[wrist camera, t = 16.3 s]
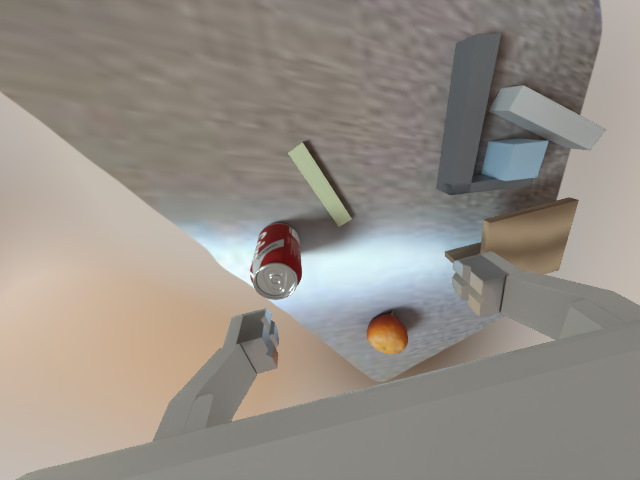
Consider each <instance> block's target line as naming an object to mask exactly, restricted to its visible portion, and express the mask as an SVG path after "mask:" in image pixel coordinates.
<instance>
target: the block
mask: <svg viewBox="0 0 640 480" xmlns="http://www.w3.org/2000/svg"><path fill="white" fill-rule="evenodd" d="M548 142H549V141H545V140H533V139H522V138H517V139H507V140H498V141H489V142H488V146H487V150H486V155H485V159H484V164H483V169H482V173H481V174H482V175H486V176H489V177H493V178H496V179H500V180H503V181H510V180H519V179H527V178H535V177H537V176H538V173H539V170H540V167H541V164H542V161H543V157H544V154H545V151H546V148H547V145H548Z"/></svg>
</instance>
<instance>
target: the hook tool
mask: <svg viewBox="0 0 640 480" xmlns="http://www.w3.org/2000/svg"><path fill="white" fill-rule="evenodd" d="M500 38H501V33H490V34H477V35H475V36H472V37H470V38H468V39H466V40H464V41H461V42H459V43H457V44H456V48H455V55H454V63H453V70H452V77H451V85H450V92H449V99H448V107H447V114H446V121H445V129H444V136H443V143H442V151H441V158H440V165H439V173H438V180H437V187H436V188H437V189H439V190H441V191H443V192H445V193H447V194H449V195H455V194H463V193H472V192H480V191H488V190H497V189H505V188H513V187H522V186H530V185H532V181H533V178H527V179H519V180H510V181H503V180H500V179H496V178H493V177H489V176H486V175H482V174H479V175H473V172H474V167H475V162H476V157H477V152H478V147H479V142H480V137H481V132H482V127H483V122H484V117H485V112H486V107H487V102H488V97H489V92H490V87H491V82H492V77H493V72H494V67H495V62H496V57H497V52H498V47H499V42H500Z"/></svg>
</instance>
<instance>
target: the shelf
mask: <svg viewBox="0 0 640 480" xmlns="http://www.w3.org/2000/svg"><path fill="white" fill-rule="evenodd" d="M577 204H578V200H576V199H573V198H565V199H561V200H558V201H554V202H550V203H546V204H542V205H538V206H534V207H530V208H526V209H523V210H519V211H515V212H511V213H507V214H503V215H499V216H495V217H491V218H487V219H484V220H483V230H482V241H481V243H477V244H473V245H469V246H465V247H461V248H457V249H454V250H450V251H446V252H445V257H447V258H448V259H449V260H450V261H451V262H452V263H454V261H456V260H460V259H464V258H467V257H471V256H475V255H478V254H481V253H485V252H489V251H491V252H494V253H496V254H497V255H499V256H500V257H502V258H503V259H505V260H506V261H508V262H509V263H511V264H513V265H514V266H516V267H517V268H519V269H520V270H522V271H523V272H525V271H530V272H535V273H539V274H546V273H550V272H553V271H557V270H559V267H560V264H561V260H562V257H563V253H564V249H565V246H566V243H567V239H568V235H569V232H570V229H571V225H572V222H573V218H574V214H575V211H576V207H577Z"/></svg>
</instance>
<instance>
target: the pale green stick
mask: <svg viewBox="0 0 640 480" xmlns="http://www.w3.org/2000/svg"><path fill="white" fill-rule="evenodd" d="M288 154H289V155H290V157H291V158H292V160H293V161H294V163H295V164H296V165H297V167H298V168H299V170H300V171H301V173H302V174H303V176H304V177H305V179H306V180H307V181H308V183H309V184H310V186H311V187H312V189H313V190H314V192H315V193H316V194H317V196H318V197H319V199H320V200H321V202H322V203H323V205H324V206H325V208H326V209H327V210H328V212H329V213H330V215H331V216H332V218H333V219H334V221H335V222H336V224H337V225H338V226H339V227H340V226H342V225H343V224H345V223H346V222H348V221H350V220H351V219H352V218H351V217H350V215H349V213H348V212H347V210H346V209H345V207H344V206H343V204H342V203H341V201H340V199H339V198H338V196H337V195H336V193H335V192H334V190H333V189H332V187H331V186H330V184H329V182H328V181H327V179H326V178H325V176H324V175H323V173H322V172H321V170H320V168H319V167H318V165H317V164H316V162H315V161H314V159H313V158H312V156H311V154H310V153H309V151H308V150H307V148H306V147H305V145H304V144H303V142H301V143H300V144H299V145H297V146H296V147H295V148H293V149H292V150H290V151H289V152H288Z"/></svg>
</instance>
